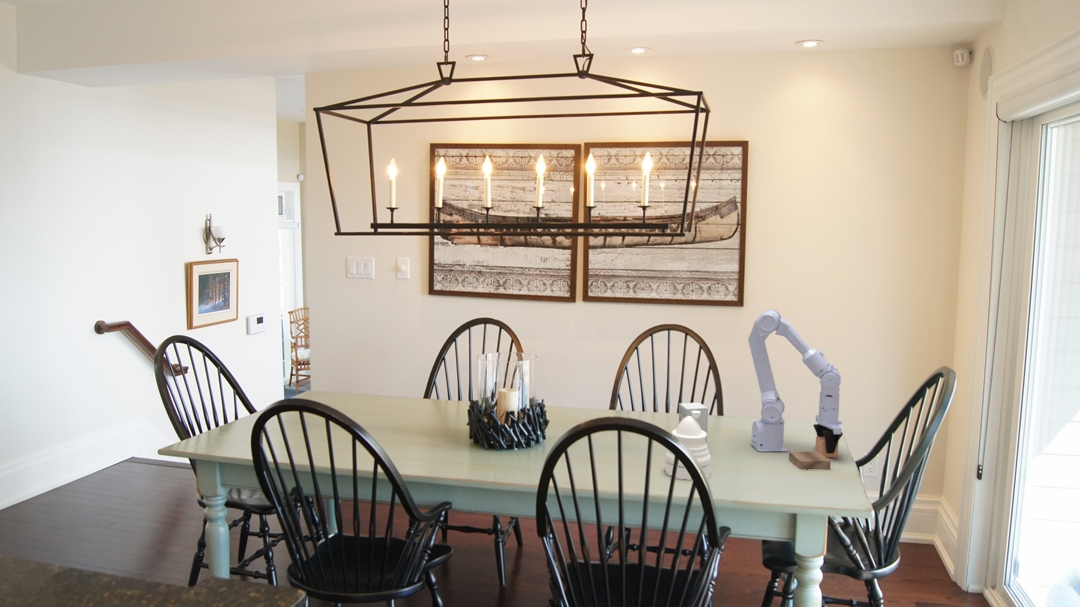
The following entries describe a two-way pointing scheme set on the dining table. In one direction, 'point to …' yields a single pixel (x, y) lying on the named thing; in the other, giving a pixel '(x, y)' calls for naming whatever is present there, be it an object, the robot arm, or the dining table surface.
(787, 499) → the dining table surface
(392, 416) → the dining table surface
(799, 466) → the walnut base block
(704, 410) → the supplement box
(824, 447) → the terracotta block
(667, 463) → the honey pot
